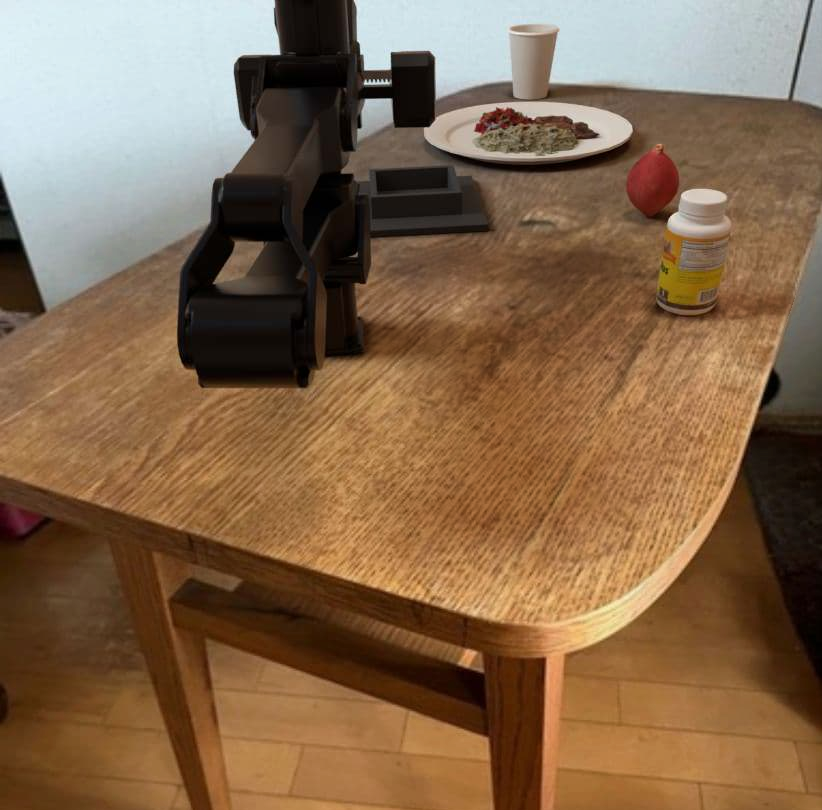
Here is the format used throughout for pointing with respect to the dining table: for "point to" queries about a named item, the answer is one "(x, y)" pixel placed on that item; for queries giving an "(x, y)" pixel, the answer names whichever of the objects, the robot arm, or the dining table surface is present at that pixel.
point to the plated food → (528, 132)
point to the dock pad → (422, 201)
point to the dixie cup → (532, 59)
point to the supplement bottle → (694, 253)
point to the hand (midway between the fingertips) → (347, 77)
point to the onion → (652, 181)
